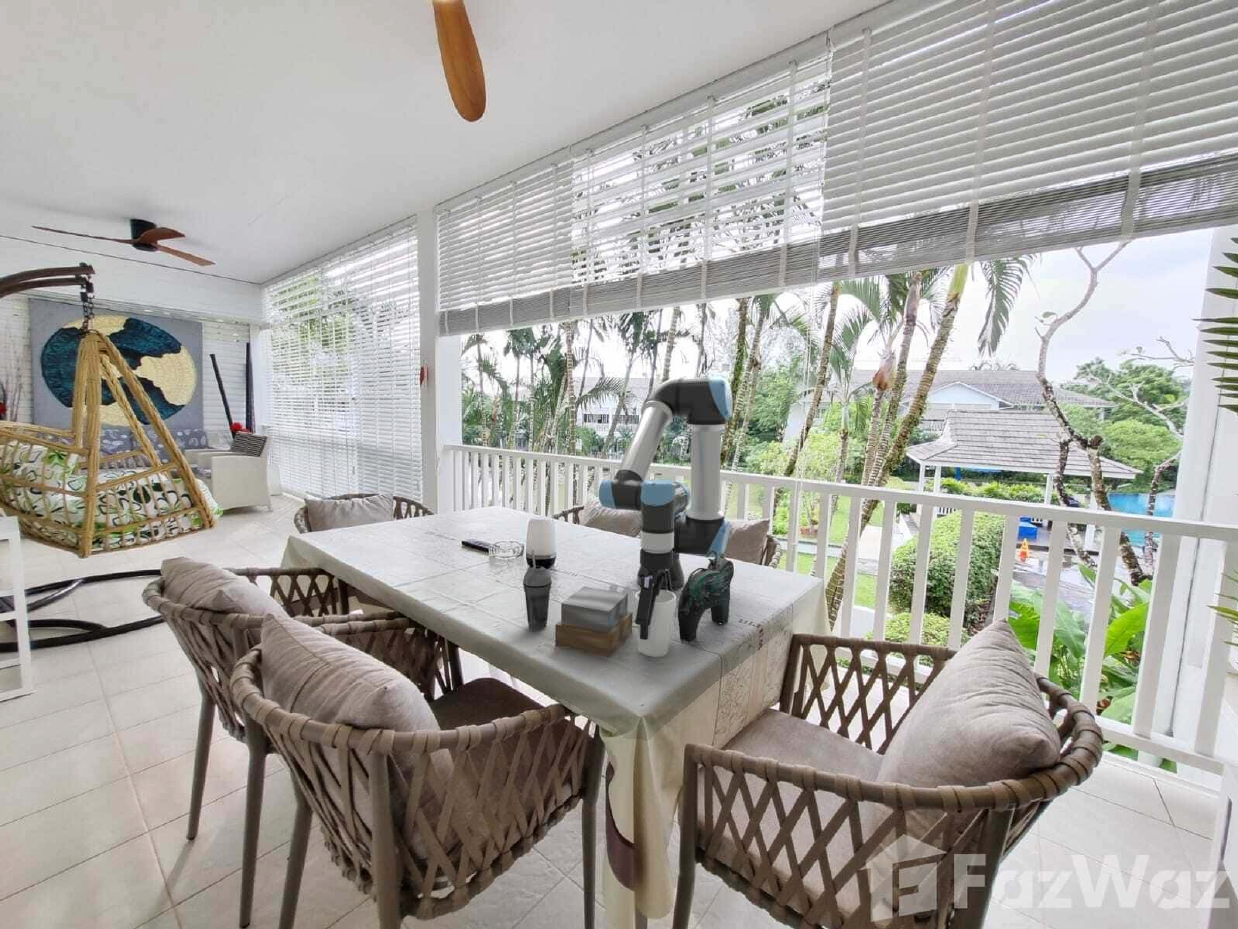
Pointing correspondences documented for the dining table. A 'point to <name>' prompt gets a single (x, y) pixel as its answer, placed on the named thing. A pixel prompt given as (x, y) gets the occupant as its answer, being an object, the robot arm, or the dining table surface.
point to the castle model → (630, 600)
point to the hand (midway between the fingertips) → (654, 638)
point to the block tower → (594, 621)
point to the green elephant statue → (705, 596)
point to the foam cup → (660, 621)
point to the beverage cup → (537, 595)
